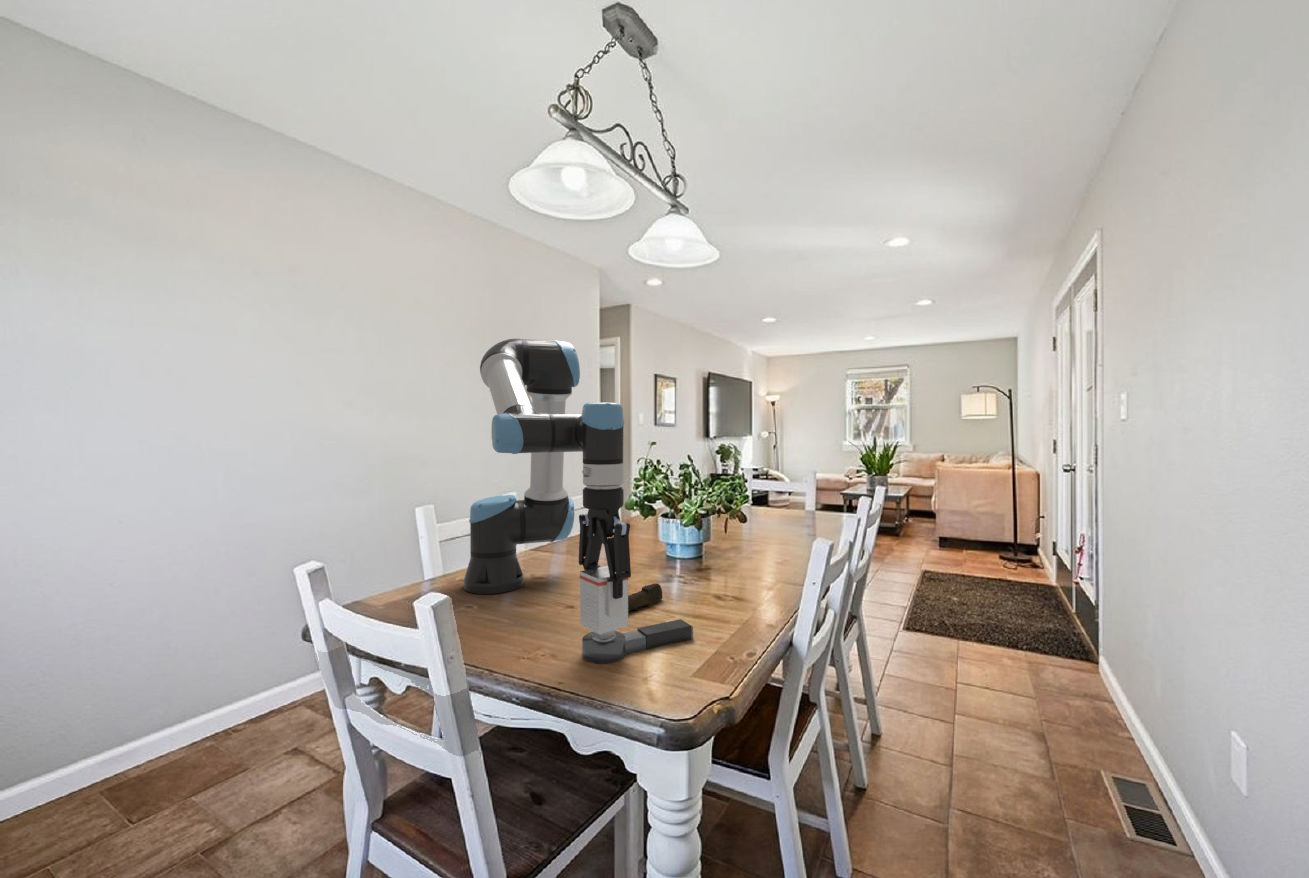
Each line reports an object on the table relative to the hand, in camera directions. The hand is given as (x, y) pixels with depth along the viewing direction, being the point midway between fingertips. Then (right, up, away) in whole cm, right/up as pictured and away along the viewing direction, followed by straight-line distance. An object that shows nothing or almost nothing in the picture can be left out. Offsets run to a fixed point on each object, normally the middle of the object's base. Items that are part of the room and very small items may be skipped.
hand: (603, 609), depth 103 cm
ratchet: (+6, -8, +4) cm, 11 cm away
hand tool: (+4, -8, +25) cm, 27 cm away
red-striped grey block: (0, -3, 0) cm, 3 cm away
